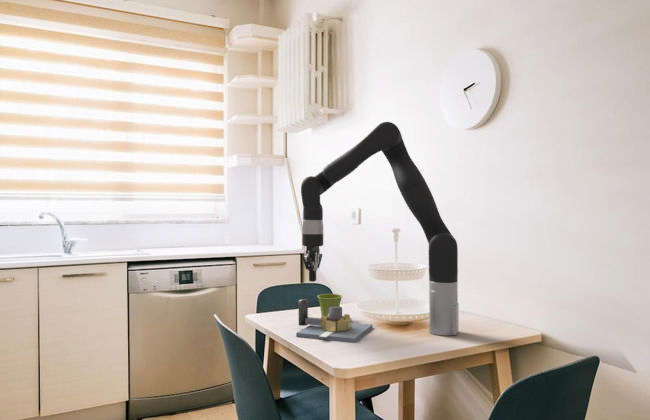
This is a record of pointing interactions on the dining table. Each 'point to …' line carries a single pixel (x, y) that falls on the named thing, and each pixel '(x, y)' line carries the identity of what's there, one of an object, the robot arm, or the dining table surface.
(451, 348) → the dining table surface
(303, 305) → the ring with upright handle
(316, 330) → the hub board
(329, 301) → the plant pot
